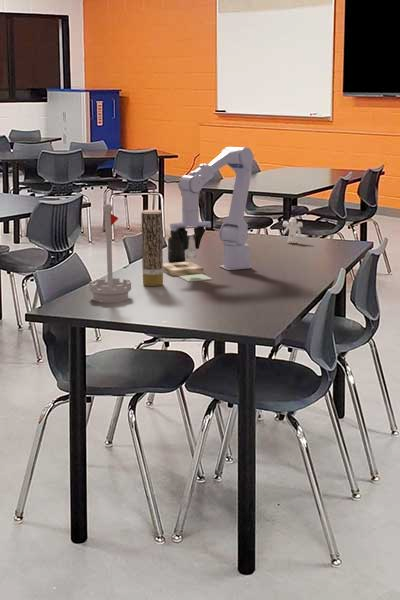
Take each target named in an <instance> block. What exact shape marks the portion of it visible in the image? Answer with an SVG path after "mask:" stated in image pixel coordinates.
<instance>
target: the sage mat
mask: <svg viewBox="0 0 400 600" xmlns="http://www.w3.org/2000/svg"><path fill="white" fill-rule="evenodd" d="M178 278H180V279H182V280H183V281H185V282H187V283H191V282H193V283H194V282H201V281H203V282H204V281H213V278H212V277H209V276H208V275H205V274H204V273H203V274H192V275H180V276H178Z"/></svg>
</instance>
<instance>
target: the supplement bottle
mask: <svg viewBox="0 0 400 600" xmlns="http://www.w3.org/2000/svg"><path fill="white" fill-rule="evenodd" d="M169 231H170V233H169V237H168V239H167V261H168V262H169V263H177V262H186V259H187V258H185V250H184V249H183V247H182V243H181V240H180V237H179V235H178V233H177V231H176V229H175V230H171V229H170V230H169Z"/></svg>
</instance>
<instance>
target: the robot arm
mask: <svg viewBox="0 0 400 600" xmlns="http://www.w3.org/2000/svg"><path fill="white" fill-rule="evenodd" d="M254 157H255V155H254V152H253V151H252V150H251V148H250V147H247V146H244V147H239V146H230V145H229V146H226V147H225V148H223V149H222V150H221V152H220V154H219V155H217V156H216V157H215V158H214V159H213V160H211V161H210V162H209V163H208V164H207V163H200V164H198V167H197V168H196V169H194V170H192V171H190V173H189V174H187V175H182V177H181V178H180V179H179V181H178V183H177V185H178V189H179V191H180V196H181V202H182V203H181V205H182V206H181V207H182V208H181V210H182V211H181V212H182V221H180V222H176V223H175V222H174V223H169V228H170V231H171V230H175V229H176V231H177V233H178V235H179V237H180V240H181V243H182V247H183V249H184V250H187V234H188V230H186V229H193V234H195V235H196V250H199V249H200V244H201V241H202V238H203V236H204V234H205V232H206V228H209V229H210V228H212V221H208V220H206V221H200V217H199V216H200V214H199V213H200V207H199V206H200V205H199V203H200V201H199V197H200V196H199V195H200V194H199V192H201V191H202V189H203V186H204V185H205V184H206V183H207V182H208V181H210V180H211V179H212V178H214V175H215V173H216V172H217V171H218V170H220V169H222V168H223V167H225V166H226V165H227V166H228V167H230V169H232V170H233V171H234V173H235V180H234V185H233V191H232V195H231V196H232V197H231V201H230V207H229V212H228V216H227V217H226V218H225V219H224V220H223V221H222V223H221V227H220V229H219V232H218V236H219V240H220V241H221V243H222V245H223V264H221V265H219V267H220V268H222V269H224V270H226V271H234V270H235V271H236V270H244V269H251V268H252V266H251V247H250V245H249V244H248V243H246V242H247V241H248V237H249V232H248V229H249V228H248V227H249V225H248V223H247V221H246V220H245V219H244V217H245V212H246V211H245V210H246V206H247V200H248V195H249V189H250V184H251V179H252V172H253V170H252V169H253V163H254V162H253V161H254Z"/></svg>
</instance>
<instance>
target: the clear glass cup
mask: <svg viewBox="0 0 400 600" xmlns="http://www.w3.org/2000/svg"><path fill="white" fill-rule="evenodd" d="M185 258H186V259H196V258H197V249H196V235H195V234H194V233H193V234H192V233H187V250H185Z"/></svg>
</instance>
